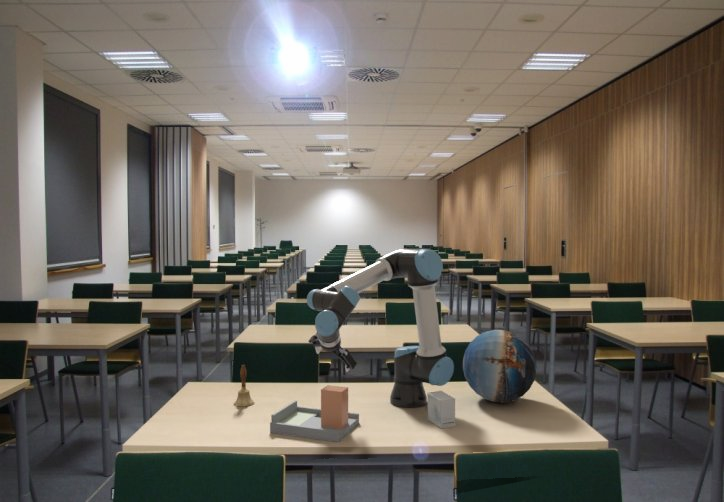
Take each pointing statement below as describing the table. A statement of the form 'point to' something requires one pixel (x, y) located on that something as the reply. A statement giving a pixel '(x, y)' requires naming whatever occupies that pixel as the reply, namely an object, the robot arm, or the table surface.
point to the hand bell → (243, 391)
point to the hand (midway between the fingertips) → (333, 359)
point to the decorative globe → (499, 366)
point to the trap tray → (308, 423)
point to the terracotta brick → (334, 406)
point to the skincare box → (441, 409)
